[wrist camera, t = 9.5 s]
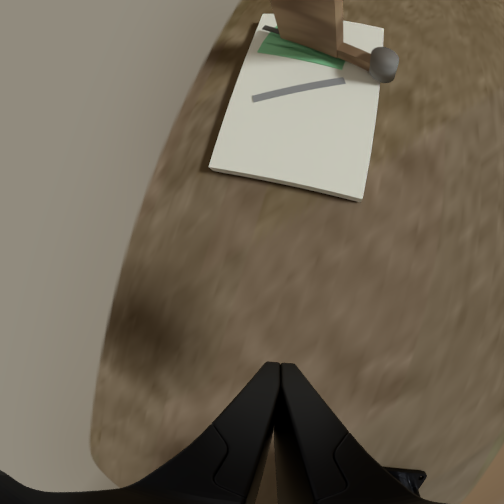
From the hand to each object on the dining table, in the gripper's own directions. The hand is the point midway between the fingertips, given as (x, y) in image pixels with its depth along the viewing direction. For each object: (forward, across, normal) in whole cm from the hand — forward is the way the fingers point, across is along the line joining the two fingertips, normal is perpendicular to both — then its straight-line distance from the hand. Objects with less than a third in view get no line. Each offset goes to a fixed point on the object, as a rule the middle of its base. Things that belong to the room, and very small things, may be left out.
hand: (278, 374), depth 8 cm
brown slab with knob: (+15, -3, -16) cm, 22 cm away
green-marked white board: (+16, -1, -12) cm, 20 cm away
